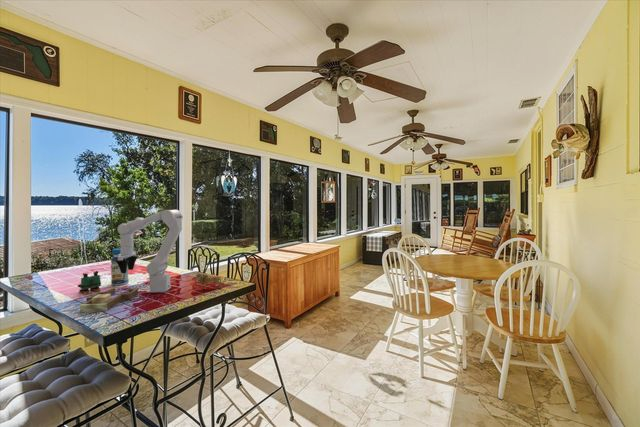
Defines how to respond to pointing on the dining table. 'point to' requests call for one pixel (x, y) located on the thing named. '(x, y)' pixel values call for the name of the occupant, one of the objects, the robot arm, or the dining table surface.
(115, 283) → the beverage bottle
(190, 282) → the dining table surface
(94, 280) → the green toy train
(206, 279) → the lion figurine
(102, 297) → the beech block
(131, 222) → the robot arm
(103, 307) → the trap lane
